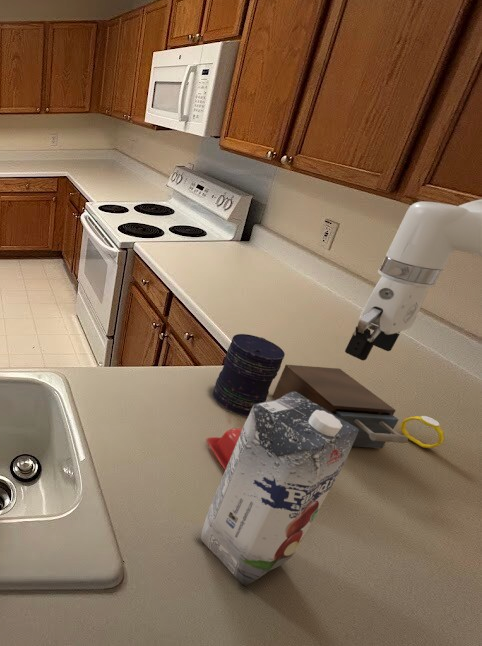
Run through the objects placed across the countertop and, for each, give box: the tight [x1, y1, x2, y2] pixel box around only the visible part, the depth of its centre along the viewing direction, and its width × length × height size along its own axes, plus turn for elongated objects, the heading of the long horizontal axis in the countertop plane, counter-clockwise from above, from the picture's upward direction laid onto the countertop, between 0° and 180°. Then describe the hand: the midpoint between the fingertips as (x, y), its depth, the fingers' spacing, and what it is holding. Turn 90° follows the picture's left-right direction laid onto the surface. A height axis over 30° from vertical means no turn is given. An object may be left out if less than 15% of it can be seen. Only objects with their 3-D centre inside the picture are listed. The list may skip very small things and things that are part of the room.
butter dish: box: [205, 427, 243, 471], centre depth 74 cm, size 12×12×8 cm
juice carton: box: [200, 391, 359, 586], centre depth 56 cm, size 9×10×27 cm
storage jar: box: [212, 333, 286, 417], centre depth 90 cm, size 10×10×18 cm
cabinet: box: [271, 364, 397, 416], centre depth 88 cm, size 14×13×9 cm
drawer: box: [333, 409, 409, 449], centre depth 84 cm, size 17×11×7 cm, turn 179°
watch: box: [400, 415, 445, 449], centre depth 85 cm, size 6×3×6 cm, turn 25°
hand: (367, 351), depth 80 cm, fingers open, 9 cm apart
